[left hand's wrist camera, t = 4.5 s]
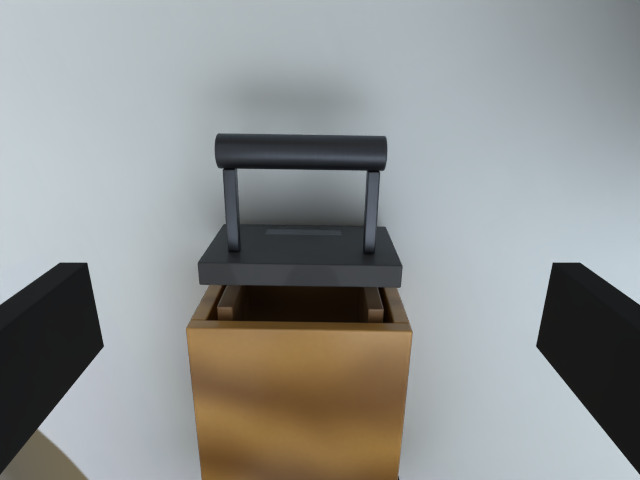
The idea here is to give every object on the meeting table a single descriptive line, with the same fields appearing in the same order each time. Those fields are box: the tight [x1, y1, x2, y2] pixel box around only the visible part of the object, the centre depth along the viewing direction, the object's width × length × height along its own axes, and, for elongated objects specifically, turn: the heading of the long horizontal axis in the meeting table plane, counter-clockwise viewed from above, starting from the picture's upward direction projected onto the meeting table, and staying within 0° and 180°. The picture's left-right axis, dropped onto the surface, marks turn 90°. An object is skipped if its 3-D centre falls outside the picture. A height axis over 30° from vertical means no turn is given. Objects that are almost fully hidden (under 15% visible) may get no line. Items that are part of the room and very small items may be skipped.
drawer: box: [198, 134, 402, 323], centre depth 26 cm, size 24×10×6 cm, turn 179°
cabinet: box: [186, 285, 413, 480], centre depth 28 cm, size 19×11×8 cm, turn 179°
